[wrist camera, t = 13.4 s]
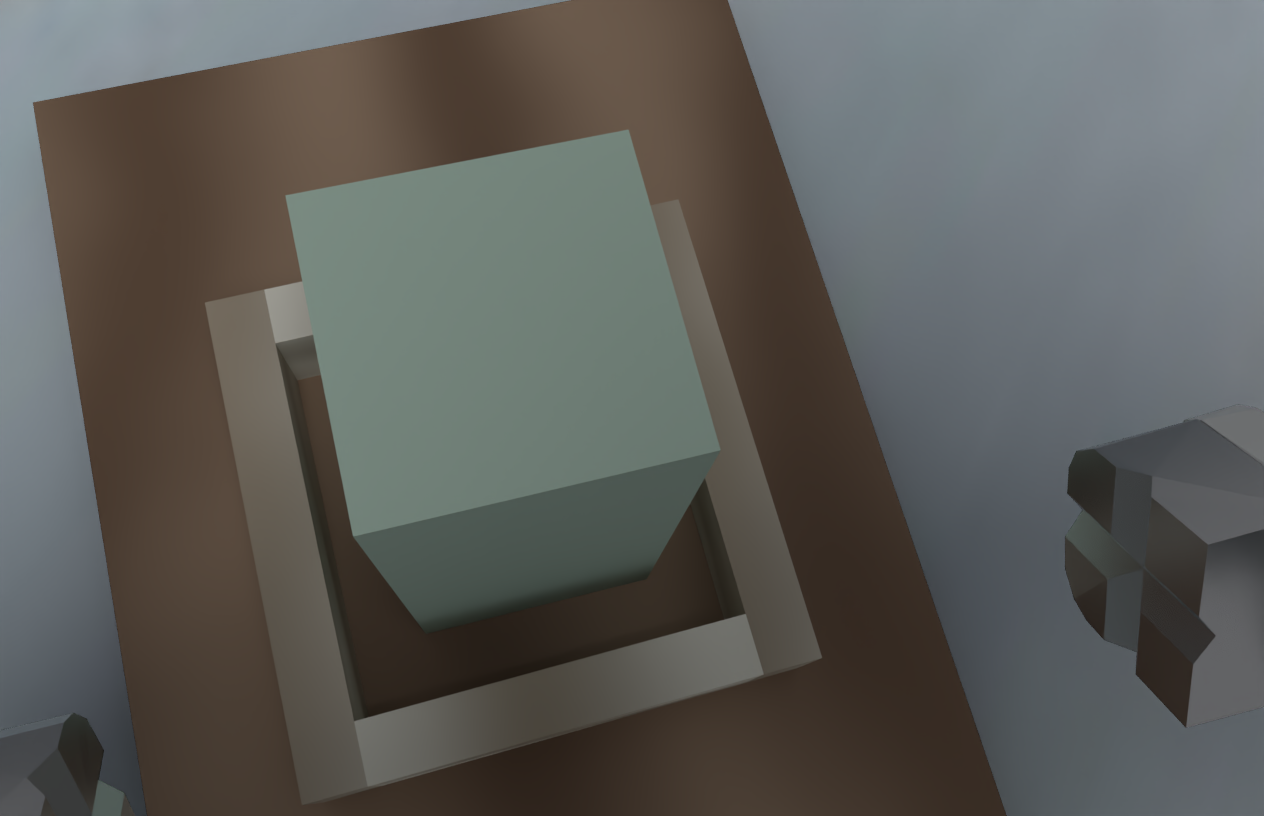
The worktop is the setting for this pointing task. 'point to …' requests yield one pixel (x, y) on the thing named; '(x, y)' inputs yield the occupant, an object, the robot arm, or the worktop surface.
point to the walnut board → (314, 495)
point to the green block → (504, 375)
